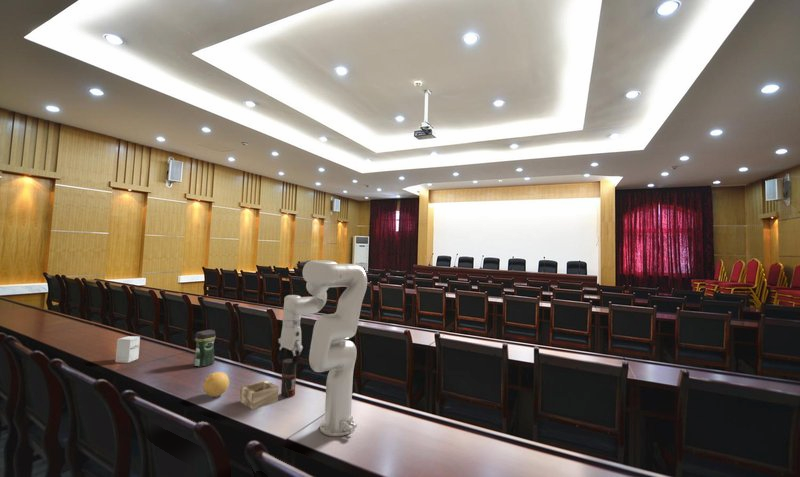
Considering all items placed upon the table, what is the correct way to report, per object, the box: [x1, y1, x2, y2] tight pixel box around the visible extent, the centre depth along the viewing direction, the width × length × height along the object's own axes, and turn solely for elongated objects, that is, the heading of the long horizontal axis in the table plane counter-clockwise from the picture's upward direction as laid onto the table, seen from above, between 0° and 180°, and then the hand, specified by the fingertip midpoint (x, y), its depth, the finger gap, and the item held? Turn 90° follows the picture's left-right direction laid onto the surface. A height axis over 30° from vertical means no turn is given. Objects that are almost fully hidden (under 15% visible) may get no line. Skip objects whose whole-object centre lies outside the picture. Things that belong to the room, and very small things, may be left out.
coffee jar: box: [193, 329, 216, 368], centre depth 188 cm, size 10×8×19 cm
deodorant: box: [280, 358, 297, 399], centre depth 153 cm, size 6×6×15 cm
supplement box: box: [115, 335, 141, 364], centre depth 190 cm, size 7×7×13 cm
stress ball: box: [202, 371, 230, 398], centre depth 149 cm, size 10×10×10 cm
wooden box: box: [239, 379, 279, 410], centre depth 145 cm, size 11×11×6 cm
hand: (289, 361), depth 153 cm, fingers open, 9 cm apart
